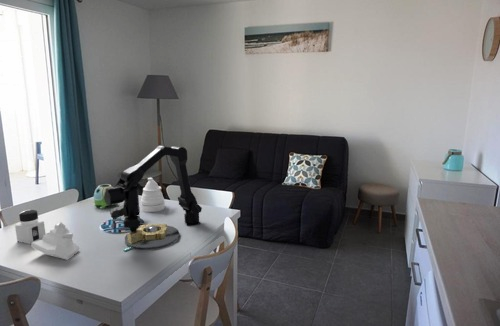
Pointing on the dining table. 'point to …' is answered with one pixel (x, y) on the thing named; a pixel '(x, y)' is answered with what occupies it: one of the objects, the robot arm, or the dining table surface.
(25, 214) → the container
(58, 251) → the white stepped peaked piece
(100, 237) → the dining table surface
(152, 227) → the grey round shallow disc
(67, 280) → the dining table surface
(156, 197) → the honey pot
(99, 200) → the turtle holder
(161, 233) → the gold block ring
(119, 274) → the dining table surface
